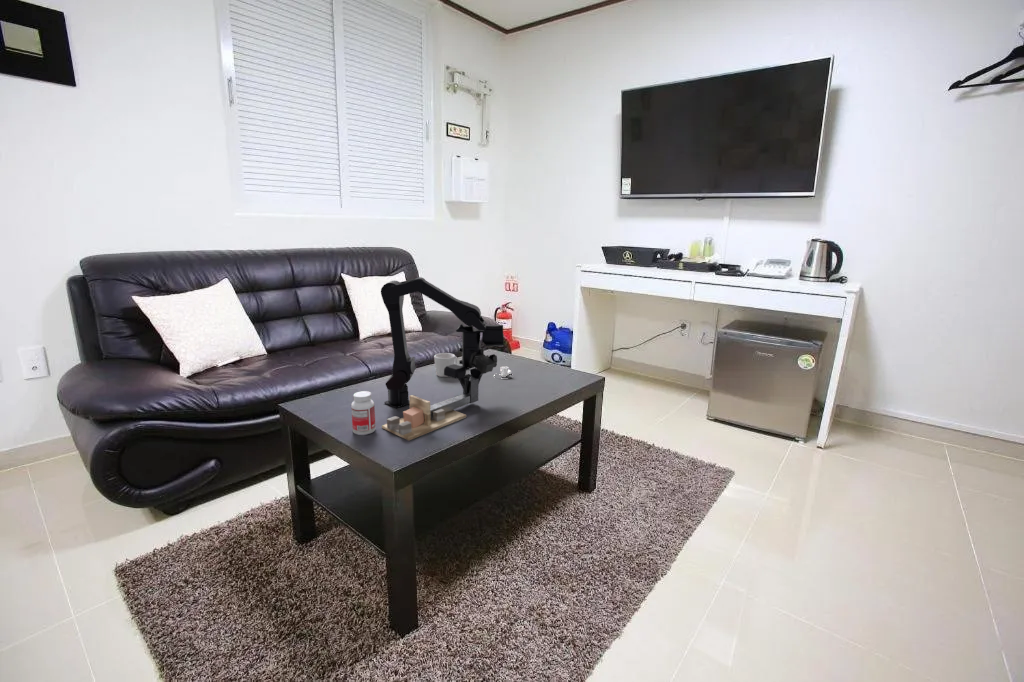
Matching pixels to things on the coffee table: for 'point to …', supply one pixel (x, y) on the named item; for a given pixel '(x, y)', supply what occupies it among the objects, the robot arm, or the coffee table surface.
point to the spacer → (414, 416)
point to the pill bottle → (363, 413)
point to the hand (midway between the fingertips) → (470, 391)
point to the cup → (444, 362)
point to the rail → (429, 424)
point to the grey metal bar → (458, 399)
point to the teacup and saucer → (504, 371)
